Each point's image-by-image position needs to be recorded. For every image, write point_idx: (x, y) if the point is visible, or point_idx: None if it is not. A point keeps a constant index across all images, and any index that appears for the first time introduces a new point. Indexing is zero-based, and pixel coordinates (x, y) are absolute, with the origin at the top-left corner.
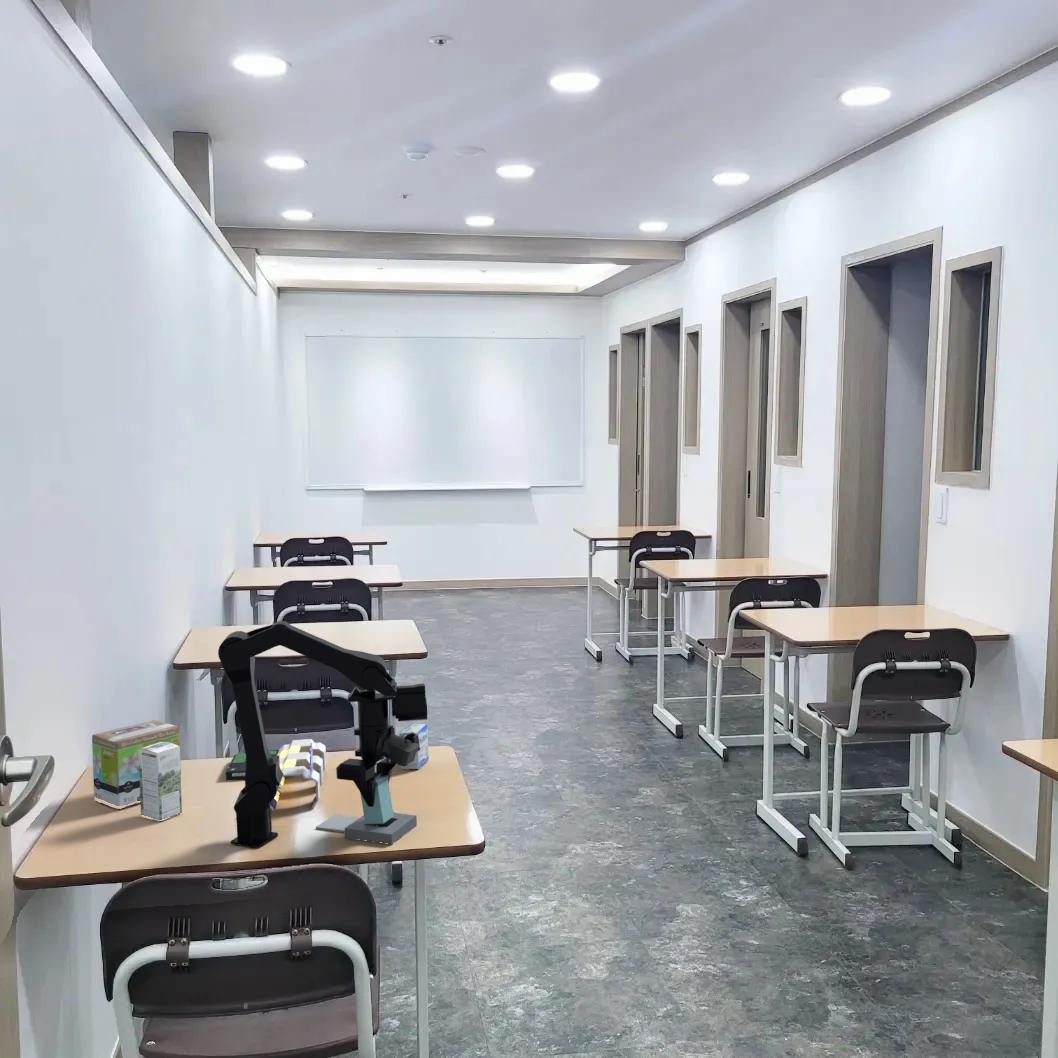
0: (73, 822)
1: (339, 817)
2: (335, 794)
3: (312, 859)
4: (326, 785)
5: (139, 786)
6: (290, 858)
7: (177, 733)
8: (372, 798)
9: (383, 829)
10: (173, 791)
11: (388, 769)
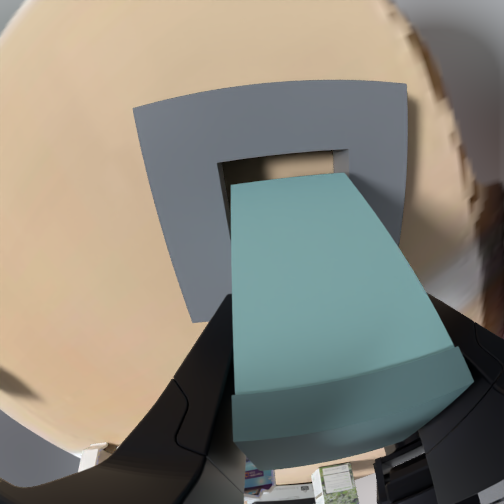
0: (360, 475)
1: None
2: (132, 417)
3: (492, 254)
4: (118, 433)
5: (307, 499)
6: (483, 295)
7: None
8: (430, 296)
9: (371, 148)
10: (335, 492)
11: (197, 501)
